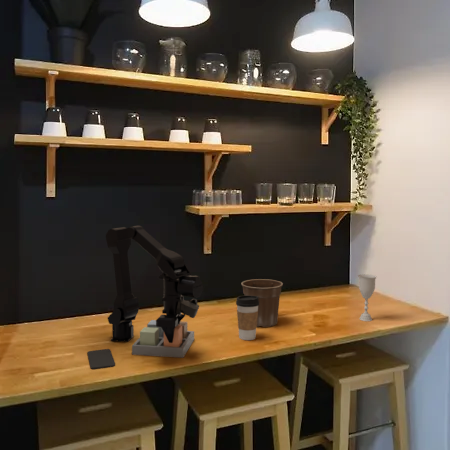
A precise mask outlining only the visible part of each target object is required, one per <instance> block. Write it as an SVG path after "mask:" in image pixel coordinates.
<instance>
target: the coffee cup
mask: <svg viewBox="0 0 450 450" xmlns="http://www.w3.org/2000/svg"><path fill="white" fill-rule="evenodd" d="M258 305H259V298H258V296H249V295H239V296H237V297H236V301H235V306H236V316H237V326H238V337H239V339H241V340H243V341H252V340H255V339H256V338H257V337H256V336H257V335H256V334H257V328H258V327H257V318H258Z"/></svg>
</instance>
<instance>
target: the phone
mask: <svg viewBox="0 0 450 450" xmlns="http://www.w3.org/2000/svg"><path fill="white" fill-rule="evenodd" d="M86 353H87V359H88V363H89V367H90V369H91V370H101V369H107V368H108V369H109V368H114V367H116V362H115V359H114V356H113V354H112V351H111V348H110V349H109V348H104V349H95V350H89V351H87V352H86Z"/></svg>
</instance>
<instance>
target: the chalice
mask: <svg viewBox="0 0 450 450" xmlns="http://www.w3.org/2000/svg"><path fill="white" fill-rule="evenodd" d="M357 276H358V289H359V292H360V294H361V296H362V298H363V299H365V300H364V306H363V308H364V311H363V312H362V313H361V315H360V317H358V319H359V320H360V321H363V322H372V321H373V319H372V316H371V314H370V313H369V312H368V309H369V306H368V305H369V299H370V298H371V297H372V296H373V294H374V292H375V289H376V279H377V278H378V277H377V276H376V275H373V274H366V273H365V274H363V273H362V274H358V275H357Z"/></svg>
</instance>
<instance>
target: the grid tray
mask: <svg viewBox="0 0 450 450" xmlns="http://www.w3.org/2000/svg"><path fill="white" fill-rule="evenodd" d="M156 320H157V319H151V320H150V321H149V322H148V323H147V324H146V326H144V327H142V329H141V330H140V331H139V338H138V339H136V341H135V342H134V343H133V344H132V345H131V355H132V356H133V355H134V356H135V355H136V356H147V357H164V358H165V357H168V358H184V357H185V356H186V354H187V352H188V351H189V349H190V347H191V346H192V344H193V342H194V341H195V331H193V330H188V321H182V320H181V321H180V325H182V343H181V345H180V346H179V347H168V346H164V331H163V330H162V328H161V327H157V326H156Z"/></svg>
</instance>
